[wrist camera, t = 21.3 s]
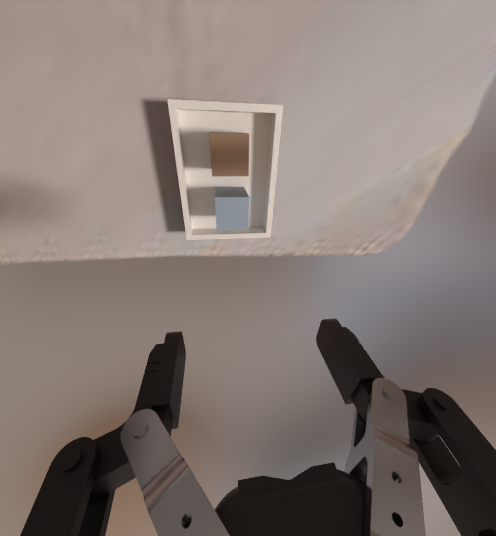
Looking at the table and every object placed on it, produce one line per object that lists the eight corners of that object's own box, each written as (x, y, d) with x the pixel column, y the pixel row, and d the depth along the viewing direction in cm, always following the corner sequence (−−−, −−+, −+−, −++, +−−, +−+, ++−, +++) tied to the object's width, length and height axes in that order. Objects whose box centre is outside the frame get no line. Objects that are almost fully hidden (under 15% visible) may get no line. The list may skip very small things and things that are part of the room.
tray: (188, 231, 37) (186, 239, 34) (172, 102, 27) (167, 99, 24) (266, 229, 39) (270, 237, 36) (276, 107, 29) (283, 105, 26)
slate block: (214, 186, 32) (214, 197, 28) (243, 186, 33) (249, 197, 28) (216, 215, 35) (216, 230, 30) (243, 215, 36) (248, 229, 31)
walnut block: (209, 132, 29) (209, 132, 24) (243, 132, 29) (249, 133, 24) (212, 168, 31) (212, 176, 26) (242, 168, 32) (248, 176, 27)
